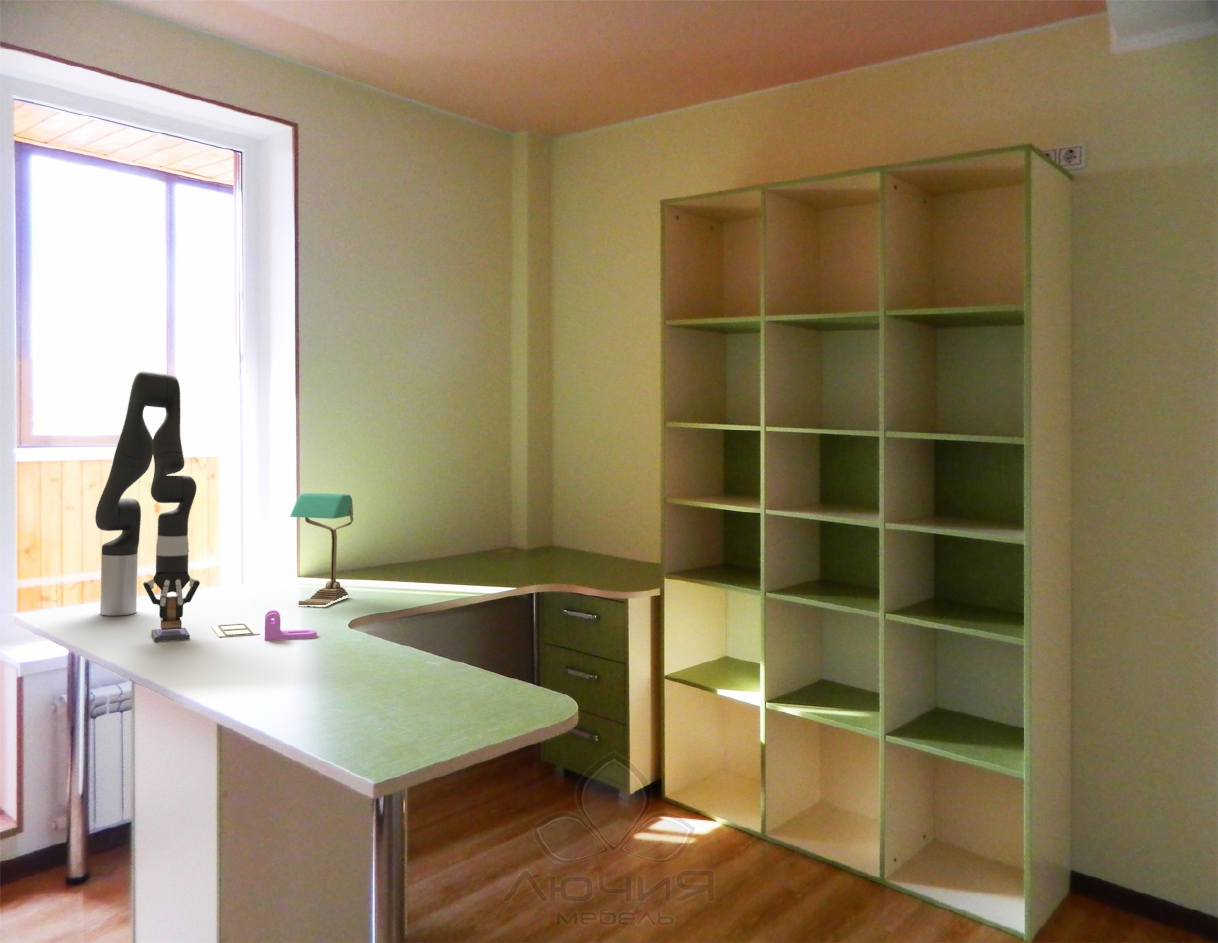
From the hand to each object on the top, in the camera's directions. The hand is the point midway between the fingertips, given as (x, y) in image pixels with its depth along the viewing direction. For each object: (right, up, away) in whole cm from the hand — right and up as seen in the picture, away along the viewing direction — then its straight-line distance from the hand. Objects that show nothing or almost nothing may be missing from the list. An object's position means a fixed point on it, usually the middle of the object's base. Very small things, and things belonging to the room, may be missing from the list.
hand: (170, 619), depth 236 cm
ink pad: (0, -5, 0) cm, 5 cm away
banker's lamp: (+21, -4, +57) cm, 61 cm away
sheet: (+12, -5, +10) cm, 17 cm away
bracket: (+29, -6, +5) cm, 30 cm away
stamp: (0, -2, 0) cm, 2 cm away
